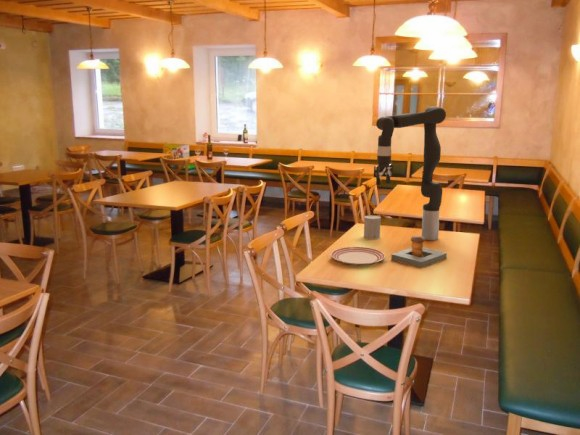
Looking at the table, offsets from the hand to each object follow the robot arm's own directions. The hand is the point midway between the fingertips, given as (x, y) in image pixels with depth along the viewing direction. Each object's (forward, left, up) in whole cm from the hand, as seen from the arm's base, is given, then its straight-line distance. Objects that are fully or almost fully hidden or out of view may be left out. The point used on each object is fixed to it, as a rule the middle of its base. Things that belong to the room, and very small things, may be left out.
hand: (383, 184), depth 287 cm
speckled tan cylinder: (-8, -13, -34) cm, 38 cm away
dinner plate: (+32, +10, -35) cm, 48 cm away
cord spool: (+9, +29, -34) cm, 46 cm away
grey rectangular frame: (+9, +31, -34) cm, 47 cm away
